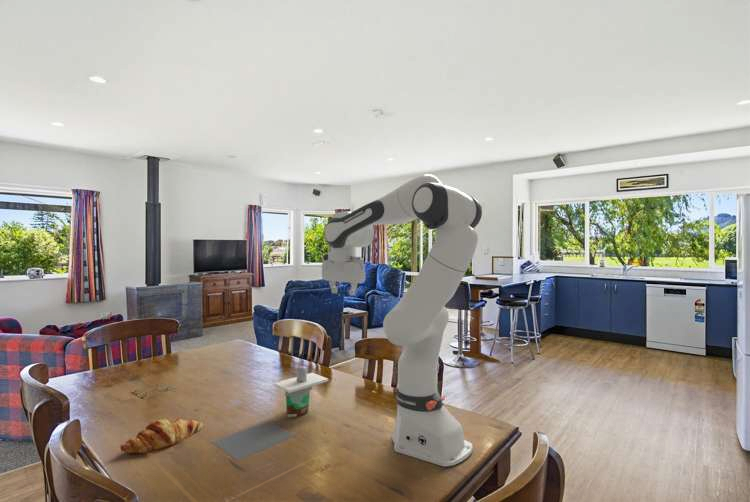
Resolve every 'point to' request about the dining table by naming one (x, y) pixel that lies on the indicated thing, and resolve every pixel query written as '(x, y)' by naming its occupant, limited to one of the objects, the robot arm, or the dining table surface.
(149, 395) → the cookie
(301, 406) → the food container
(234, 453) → the mat
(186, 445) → the dining table surface
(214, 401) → the dining table surface
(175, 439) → the croissant
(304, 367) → the lid
